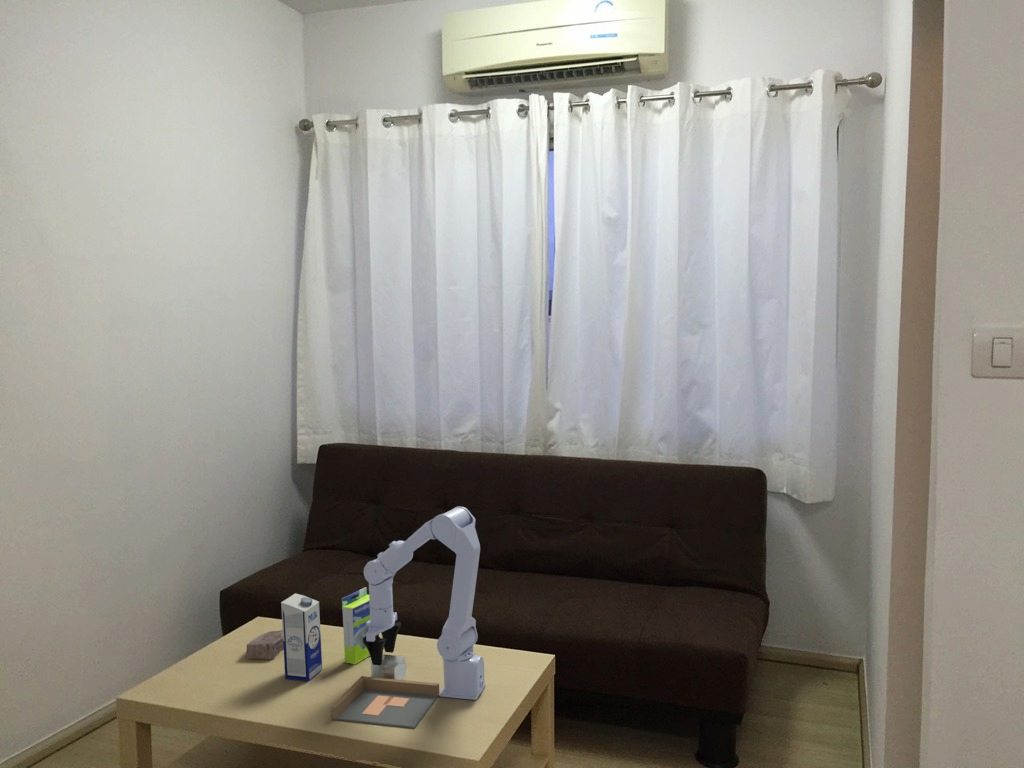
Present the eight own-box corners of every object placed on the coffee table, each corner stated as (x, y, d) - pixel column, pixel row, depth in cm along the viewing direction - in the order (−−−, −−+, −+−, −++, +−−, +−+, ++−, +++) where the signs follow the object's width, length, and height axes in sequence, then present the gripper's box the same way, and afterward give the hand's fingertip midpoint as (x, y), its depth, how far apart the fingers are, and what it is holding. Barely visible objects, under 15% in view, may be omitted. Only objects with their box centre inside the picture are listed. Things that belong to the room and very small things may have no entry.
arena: (439, 695, 194) (439, 683, 194) (414, 728, 179) (414, 715, 179) (362, 687, 199) (361, 676, 199) (331, 719, 184) (331, 707, 184)
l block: (405, 675, 206) (405, 656, 205) (395, 687, 199) (394, 668, 198) (376, 672, 208) (375, 653, 207) (364, 684, 201) (363, 665, 200)
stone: (260, 643, 229) (259, 627, 229) (291, 643, 229) (290, 627, 228) (243, 661, 218) (242, 644, 217) (276, 661, 217) (275, 644, 217)
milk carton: (299, 667, 212) (295, 592, 210) (322, 669, 210) (319, 594, 209) (284, 679, 205) (280, 601, 204) (308, 681, 204) (304, 603, 202)
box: (355, 665, 212) (352, 601, 211) (342, 662, 214) (339, 598, 213) (380, 650, 221) (377, 588, 220) (368, 647, 223) (365, 586, 222)
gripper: (378, 594, 212) (380, 645, 213) (353, 614, 198) (356, 668, 199) (403, 596, 210) (405, 647, 211) (380, 617, 196) (382, 671, 197)
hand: (383, 658), depth 205 cm, fingers open, 7 cm apart
